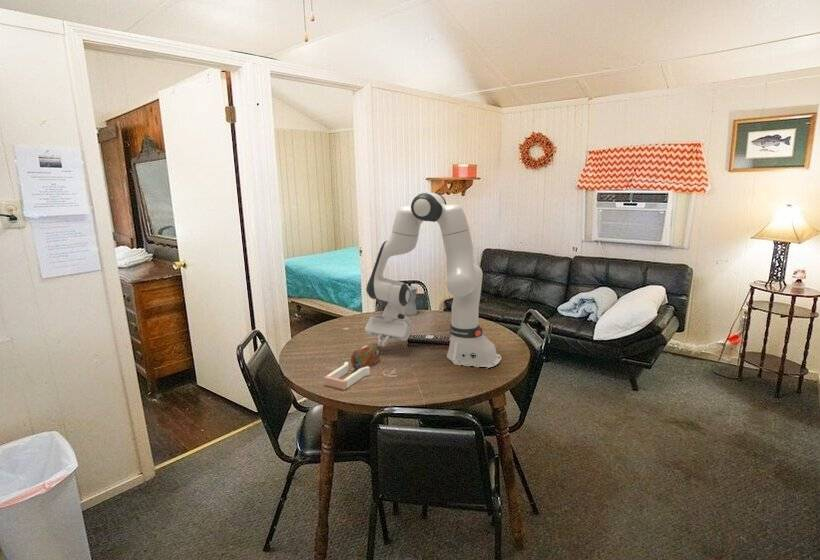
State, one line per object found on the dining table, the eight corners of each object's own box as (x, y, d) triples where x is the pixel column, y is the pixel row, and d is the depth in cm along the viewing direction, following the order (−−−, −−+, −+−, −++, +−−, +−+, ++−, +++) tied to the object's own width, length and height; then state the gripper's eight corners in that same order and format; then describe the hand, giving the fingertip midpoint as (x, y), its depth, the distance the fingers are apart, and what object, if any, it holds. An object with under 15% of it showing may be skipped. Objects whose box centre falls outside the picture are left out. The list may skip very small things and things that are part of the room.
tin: (355, 373, 169) (355, 353, 168) (349, 371, 171) (349, 351, 169) (381, 360, 181) (380, 341, 179) (375, 359, 183) (375, 340, 181)
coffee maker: (423, 314, 244) (423, 282, 240) (411, 317, 238) (411, 285, 234) (404, 308, 254) (404, 278, 250) (393, 311, 248) (392, 280, 244)
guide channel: (371, 374, 169) (370, 366, 168) (347, 390, 155) (347, 383, 155) (345, 368, 174) (345, 361, 173) (321, 384, 161) (320, 376, 160)
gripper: (369, 310, 194) (357, 338, 188) (410, 317, 185) (399, 346, 179) (374, 317, 199) (363, 344, 193) (415, 324, 190) (404, 352, 183)
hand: (381, 345), depth 186 cm, fingers closed
